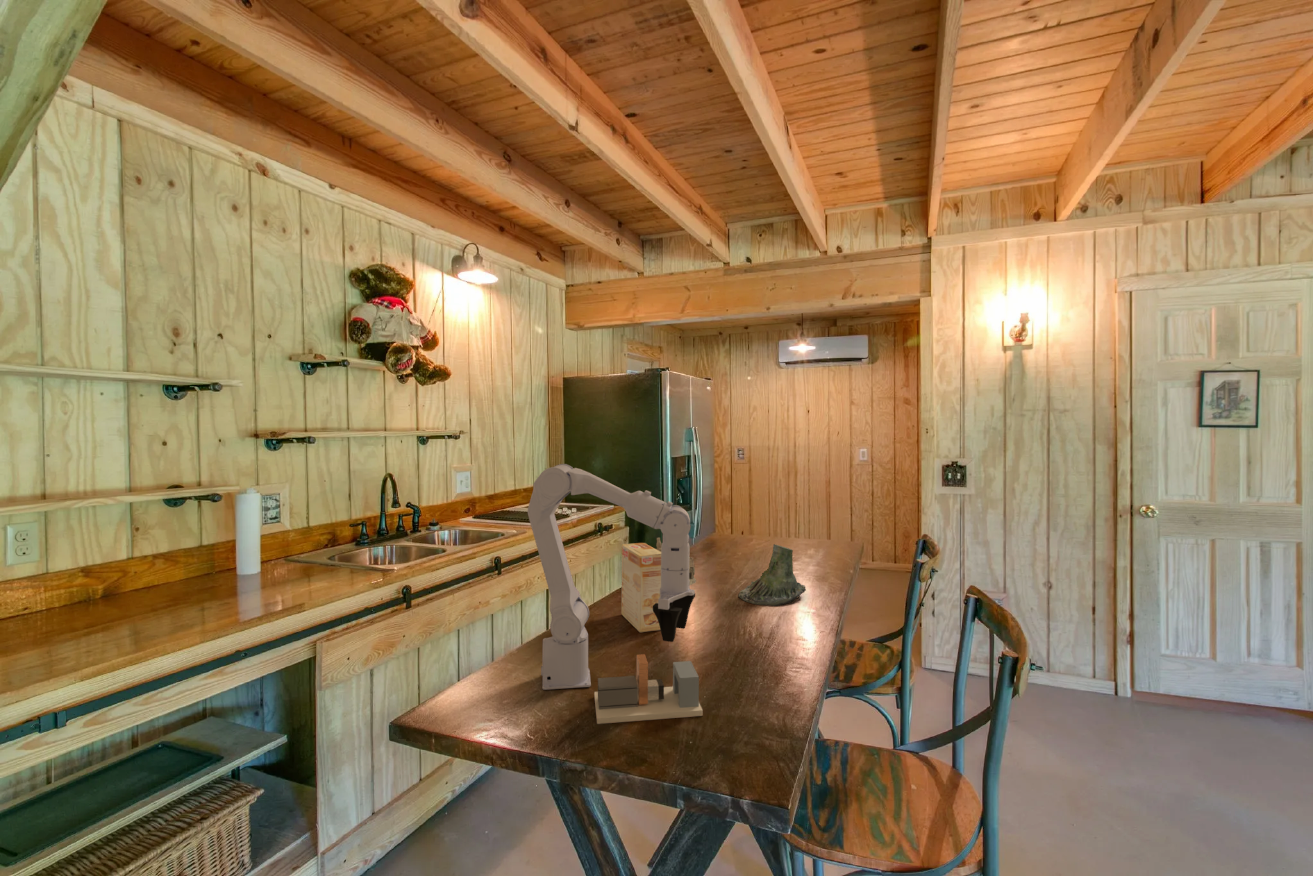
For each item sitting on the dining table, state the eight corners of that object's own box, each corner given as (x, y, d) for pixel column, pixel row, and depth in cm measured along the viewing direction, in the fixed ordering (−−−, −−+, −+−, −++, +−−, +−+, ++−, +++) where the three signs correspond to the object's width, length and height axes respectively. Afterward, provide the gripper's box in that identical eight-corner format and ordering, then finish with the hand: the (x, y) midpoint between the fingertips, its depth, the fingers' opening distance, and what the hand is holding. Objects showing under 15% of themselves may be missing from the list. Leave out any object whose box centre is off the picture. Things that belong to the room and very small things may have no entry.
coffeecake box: (665, 629, 148) (665, 553, 148) (639, 633, 146) (639, 555, 145) (644, 611, 162) (645, 541, 162) (620, 614, 160) (620, 543, 159)
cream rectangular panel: (597, 723, 102) (597, 695, 102) (594, 697, 112) (594, 671, 112) (702, 715, 105) (702, 688, 105) (691, 690, 115) (691, 665, 115)
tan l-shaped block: (601, 707, 105) (601, 665, 105) (600, 696, 109) (600, 656, 109) (664, 702, 107) (664, 661, 107) (661, 692, 111) (661, 653, 111)
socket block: (679, 707, 106) (680, 678, 106) (672, 690, 113) (673, 662, 113) (698, 706, 107) (698, 676, 106) (690, 688, 114) (690, 661, 113)
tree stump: (726, 592, 182) (738, 535, 184) (781, 601, 188) (792, 547, 190) (753, 607, 165) (766, 544, 166) (813, 617, 171) (825, 556, 172)
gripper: (683, 578, 109) (682, 650, 110) (703, 561, 123) (702, 624, 123) (648, 574, 112) (647, 644, 112) (671, 558, 125) (671, 620, 126)
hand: (674, 634), depth 118 cm, fingers open, 7 cm apart
